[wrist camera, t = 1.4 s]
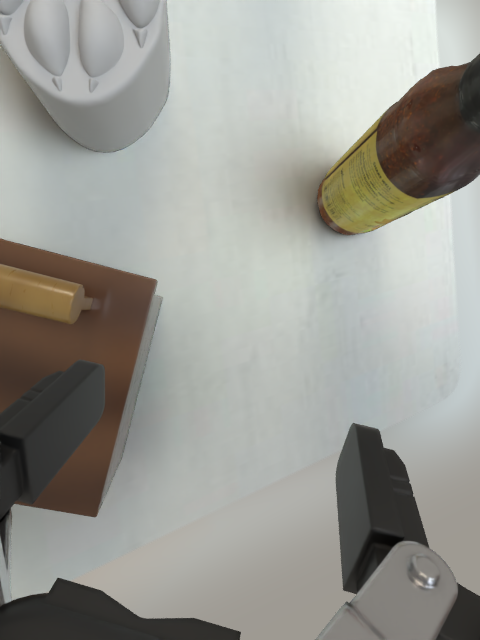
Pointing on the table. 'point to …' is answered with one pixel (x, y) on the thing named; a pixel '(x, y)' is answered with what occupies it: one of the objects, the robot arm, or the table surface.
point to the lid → (71, 350)
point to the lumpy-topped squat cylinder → (92, 64)
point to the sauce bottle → (408, 154)
